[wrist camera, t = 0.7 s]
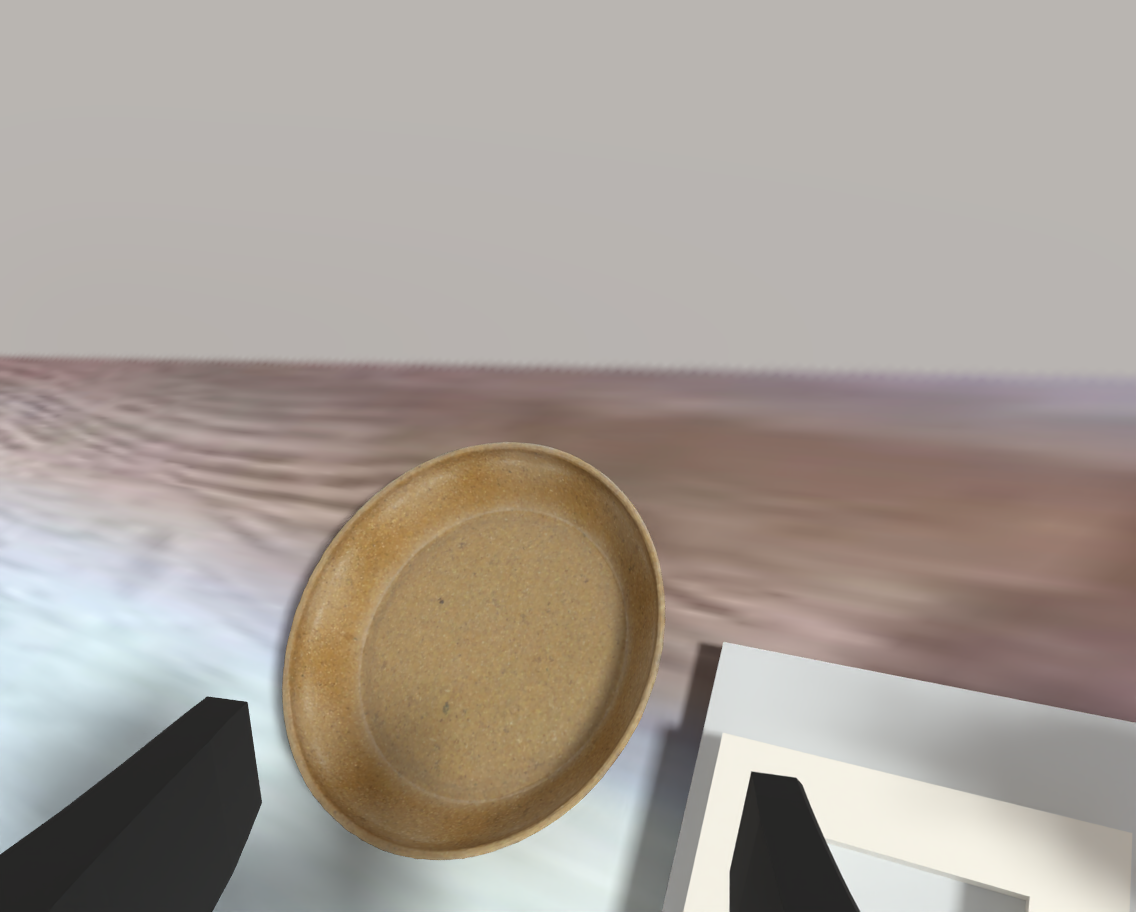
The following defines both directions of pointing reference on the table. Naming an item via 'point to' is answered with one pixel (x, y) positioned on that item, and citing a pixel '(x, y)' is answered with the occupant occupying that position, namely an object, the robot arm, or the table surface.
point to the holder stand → (916, 790)
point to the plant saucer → (473, 651)
